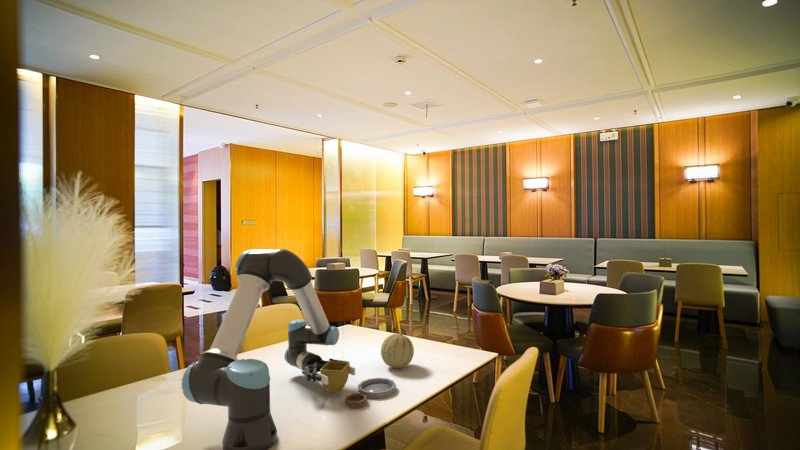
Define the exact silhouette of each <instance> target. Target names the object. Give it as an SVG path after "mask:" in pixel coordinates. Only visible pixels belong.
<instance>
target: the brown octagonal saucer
mask: <svg viewBox="0 0 800 450" xmlns="http://www.w3.org/2000/svg"><path fill="white" fill-rule="evenodd" d="M367 401H368V398H367V396H366V395H364V394H362V393H359V392H358V393H357V392H354V393H350V394H348V395H346V396H345V398H344V405H345V407H346V408H348V409H351V410H352V409H353V410H356V409H361V408H365V406H366V405H367Z"/></svg>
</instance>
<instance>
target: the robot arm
mask: <svg viewBox="0 0 800 450" xmlns="http://www.w3.org/2000/svg"><path fill="white" fill-rule="evenodd" d="M235 268H236V269H235V271H234V272H235V275H236V276H237V277H236V280H237V282H238V286H237V287H236V290H235V292H234V295H233V296H232V299H231V301H230V302H229V305H228V308H227V311H226V312H225V315H224V317H223V319H222V321H221V323H220V325H219V328H218V330H217V332H216V335H215V336H214V340H213V342H212V344H211V346H210V348H209V349H208V350H205V351H203V352H202V353H201V356H200V358H199V360H197V361H195V362H192V363H191V364H189V365H188V366H187V368H186V369H185V371H184V372H183V375H182V379H181V389H182V393H183V395H184V397H185V399H186V400H188V401H189V402H192V403H197V404H199V405H211V406H218V407H227V413H228V415H227V417H228V421H227V424H226V427H225V431H224V434H223V438H222V450H268V449H270V448H272V446H273V445H274V444H275V443H276V442H277V439H278V429H277V426H276V424H275V421H274V419H273V416H272V412H271V389H270V388H271V387H270V386H271V385H270V383H271V377H270V372H269V371H270V369H269V367H268V364H266V362H264V361H262V360H259V359H256V358H247V359H245V358H241V359H238V355H239V353H240V350H241V347H242V344H243V342H244V341H245V340H244V339H245V337H246V334H247V332H248V331H249V330H248V329H249V327H250V324H251V322H252V320H253V318H254V315H255V312H256V310H257V307H258V305H259V303H260V299H261V298H262V295H263V293H264V292H266V291H268V290H269V289H270V287H271V284H272V282H283V284H285V286H286V287H287V289H289V290H291V291H292V293H293V295H294V297H295V299H296V301H297V304H298V306H299V308H300V310H301V312H302V314H303V315H304V316H303V317H304V318H305V319H301V318H297V319H293V320H290V321H289V322H288V323H287V324H288V327H287V334H288V335H287V337H288V348H286V350H285V353H284V361H285V362H286V363H287V364H289V365H290V366H291V367H295V368H297V369H299V370H301V373H302V374H303V375H304V376H305V379H306V381H307V382H311V381H312V383H316V382H320V383H324V384H326V385H328V376H325V375H323V374H321V373H320V369H321V368H322V367H323V366H325V365H326V364H327V363H328V362H330V361H332V362H349V360H348V361H347V360H340V359H334V358H331V357H330V358H329V359H328V360H323V359H322V357H321V356H320V355H319V354H317V353H314V352H311V351H308V349H307V346H308V345H319V346H326V347H327V346H335V345H336V344H337V343H338V341H339V340H340V339H339V338H340V331H339V330H340V329H339V328H338V327H336V326H333V325H330V322H329V320H328V318H327V316H326V315H327V314H325V311H324V308H323V307H322V304H321V302H320V300H319V297H318V295H317V292H316V290H315V288H314V285H313V283H312V278H313V276H312V274H311V271H310V269H309V268H308V265H307V264H306V263H305V262H304V261H303V260H302V259H301V258H300V257H299V255H297V254H296V253H294V252H293V251H291V250H288V249H284V248H276V249H275V248H274V249H273V248H271V249H270V248H269V249H266V248H265V249H261V248H253V249H248V250H244V251H243V252H242V253H241V254H240V255H239V256H238V258H237V260H236V262H235ZM349 375H352V376H356V367H354V366H352V365H350V366H349Z"/></svg>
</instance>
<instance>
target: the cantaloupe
mask: <svg viewBox="0 0 800 450" xmlns="http://www.w3.org/2000/svg"><path fill="white" fill-rule="evenodd" d="M414 349H415V348H414V345H413V342H412V340H411V339H410V338H409V337H408V336H406V335H404V334H403V333H402V331H400V332H399V333H393V334H390V335H388V336H387V337H386V338H385V339H384V340H383V341H382V345H381V347H380V355H381V358H382V360H383V362H384V363H385V365H387V366H389V367H391V368H393V369H402V368H405V367H407V366H408V365H409V364H410V363H411V362H412V360H413V359H414V355H415V353H414V352H415V350H414Z"/></svg>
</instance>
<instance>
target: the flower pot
mask: <svg viewBox="0 0 800 450" xmlns="http://www.w3.org/2000/svg"><path fill="white" fill-rule="evenodd" d="M350 363H351V362H350V361H348V362H332V361H330V362H328V363H327V364H326V365H325V366H323V367H322V368H321V369H320V372H319V373H321V374H323V375H325V376H328V385H326V384H324V383H322V386H323V388H324V389H325V390H326V392H328V393H330V392H333V393H341V392H342V390H343V389H344V388H345V387H346V384H347V381H348V379H349V375H350V374H349V366H351V365H350Z"/></svg>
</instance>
